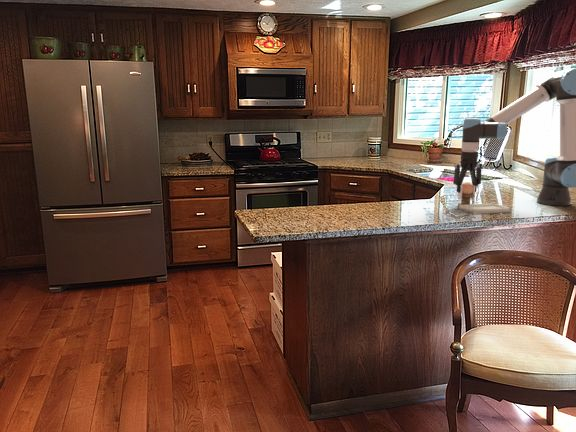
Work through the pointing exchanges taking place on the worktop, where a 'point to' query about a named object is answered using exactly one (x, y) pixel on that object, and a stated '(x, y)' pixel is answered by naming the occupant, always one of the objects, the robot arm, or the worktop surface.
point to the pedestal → (465, 199)
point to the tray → (484, 208)
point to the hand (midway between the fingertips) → (465, 198)
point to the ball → (467, 188)
